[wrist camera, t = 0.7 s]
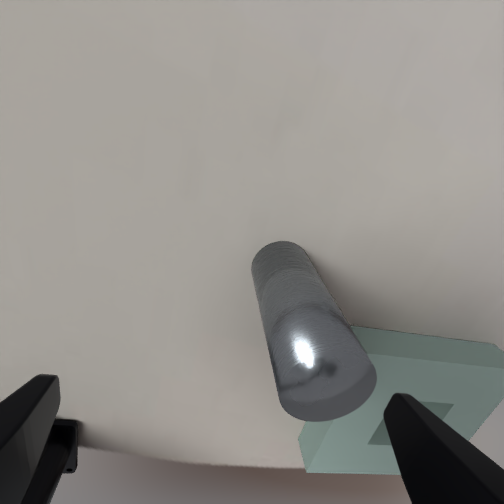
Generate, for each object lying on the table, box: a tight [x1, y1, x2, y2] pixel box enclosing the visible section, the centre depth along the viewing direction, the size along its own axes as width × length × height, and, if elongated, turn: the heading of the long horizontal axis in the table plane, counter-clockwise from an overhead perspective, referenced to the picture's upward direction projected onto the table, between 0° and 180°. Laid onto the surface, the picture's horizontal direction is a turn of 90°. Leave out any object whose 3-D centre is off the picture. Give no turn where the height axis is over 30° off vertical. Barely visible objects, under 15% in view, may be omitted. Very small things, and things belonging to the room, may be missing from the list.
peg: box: [251, 241, 377, 422], centre depth 17 cm, size 4×4×10 cm
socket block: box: [298, 326, 504, 475], centre depth 27 cm, size 14×14×3 cm
